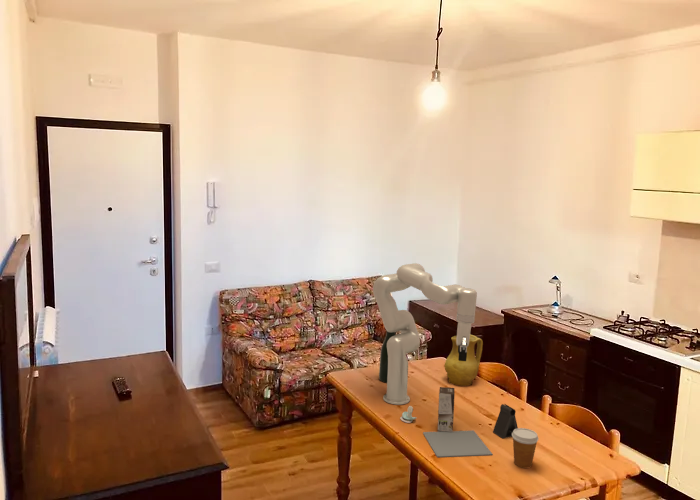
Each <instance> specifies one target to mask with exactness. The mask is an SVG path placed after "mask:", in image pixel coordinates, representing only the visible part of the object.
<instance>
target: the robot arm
mask: <svg viewBox="0 0 700 500" xmlns="http://www.w3.org/2000/svg"><path fill="white" fill-rule="evenodd" d="M410 287H412V288H414V289H416V290H419V291H421V292H422V295H424V297H425V298H426V299H428V300H430V301H433V302H435V303H437V304H441V305H449V304H454V303H457V306H456V317H455V320H456V322H457V329H456V336H457V338H456V343H457V345H458V353H459V358H458V360H459V361H466V358H467V346H468V345H469V339H470V335H471V329H472V324H474V323H475V317H476V307H477V297H478V296H477V295H478V293H477V290H475V289H473V288H467V287H464V286H462V285H460V284H450V285H449V284H448V285H444V286H442V285H439V284H436V283H434V282H433V275H432V274H431V273H429V272H426V269H425V267H424V266H423V265H422V264H419V263H416V262H415V263H408V264H407V263H406V264H403V265H400V266H399V267H398V268H397V270H396V273H389V274H384V275H381V276H379V277H378V278H376V279H375V281H374V283H373V285H372V293H373V297H374V299H375V302H376V304H377V306H378V310H379V313H380V314H379V315H380V318H381V319H382V323H383V326H384V329H385V330H386V332H387V331H388V332H391V333H392V332H396V333H397V332H400V333H398V334H396V335H394V336H392V337H391V338H390V339H389V340H388V342H387V352H388V377H387V383H386V393H385V394H383V396H382V397H383V398H382V400H383V401H384V402H386V403H388V404H392V405H397V406H398V405H399V406H400V405H406V404H408V403H410V400H411V398H410V396H409V395H408V377H409V360H408V359H407V358H408V357H407V354H409V353H412V352H415V351H417V350H418V349H419V348H420V344H421V339H420V335H419V331H418V328H417V325H416V322H415V318H414V316H413V315H412V313H411V312H410V311H408V310H405V309H398V308H399V307H398V305H397V302H396V300H395V299H394V297H393V296H392V295H391V293H396V292H401V291H404V290H406V289H407V290H408V288H410Z"/></svg>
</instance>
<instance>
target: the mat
mask: <svg viewBox="0 0 700 500" xmlns="http://www.w3.org/2000/svg"><path fill="white" fill-rule="evenodd" d="M422 435H423V436H424V438H425V439H426V441H427V442H428V445H429V447H430V448H431V449H432V451H433V453H434V455H435V457H436V458H454V457H459V458H460V457H461V458H462V457H479V456H480V457H481V456H482V457H483V456H485V457H486V456H493V452H491V450H490V449H489V447H488V446H487V445H486V444H485V443H484V441H483V440H482V439H481V437H479V435H478V433H477V432H475V430H474V429H473V430H453V431H452V432H447V431H423V432H422Z"/></svg>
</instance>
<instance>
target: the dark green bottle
mask: <svg viewBox="0 0 700 500" xmlns="http://www.w3.org/2000/svg"><path fill="white" fill-rule="evenodd" d="M394 335H397V332H392V333H391V332H388V331H387V330H386V333H385V338H384V340H383V342H382V344H381V348H380V355H379V356H380V357H379V369H378V379H379V381H381V382H384V383H386V384H387V377H388V352H387V342H388V340H389V339H390V338H391V337H392V336H394Z"/></svg>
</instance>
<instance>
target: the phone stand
mask: <svg viewBox="0 0 700 500" xmlns="http://www.w3.org/2000/svg"><path fill="white" fill-rule="evenodd" d="M499 409H500V411H499V413H498V417H497V419H496V422H495V424H494V427H493V430H492V433H494V434H495V435H496V436H498V437H500V438H501V439H507V438H513V437H512V433H513V431H514V430H515V429H517V428H519V427H518V422H517V418H516V409H514V408H513V407H511V406H510V405H507V404H506V403H501V405H500V407H499Z"/></svg>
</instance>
